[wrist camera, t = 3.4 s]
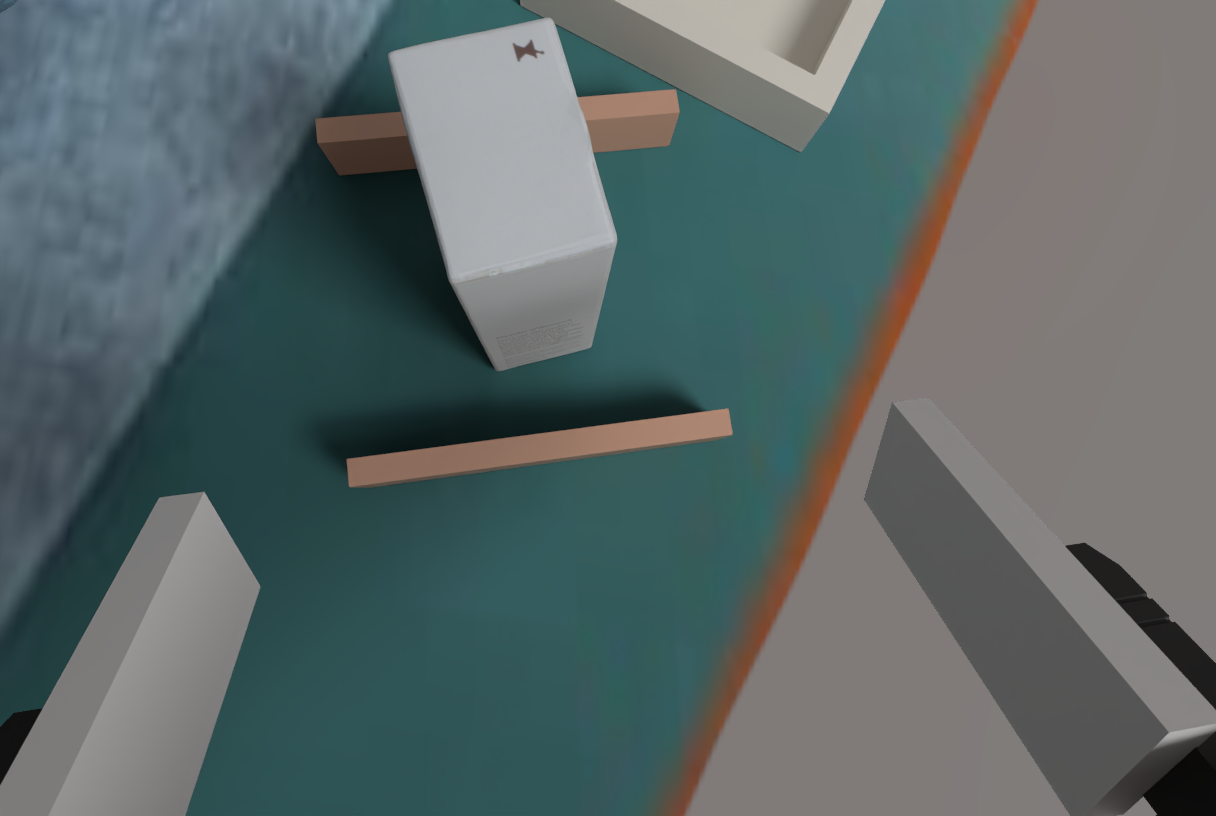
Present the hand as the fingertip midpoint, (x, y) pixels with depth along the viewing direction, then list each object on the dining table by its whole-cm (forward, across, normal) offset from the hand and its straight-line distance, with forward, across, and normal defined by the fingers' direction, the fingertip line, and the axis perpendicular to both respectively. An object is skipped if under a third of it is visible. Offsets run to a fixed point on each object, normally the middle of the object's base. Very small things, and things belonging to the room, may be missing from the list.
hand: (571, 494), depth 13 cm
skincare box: (+15, 0, -4) cm, 16 cm away
